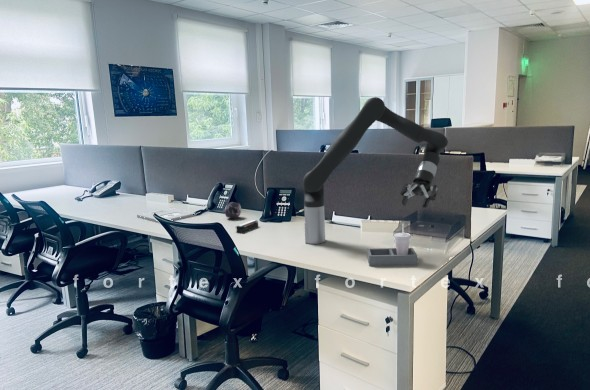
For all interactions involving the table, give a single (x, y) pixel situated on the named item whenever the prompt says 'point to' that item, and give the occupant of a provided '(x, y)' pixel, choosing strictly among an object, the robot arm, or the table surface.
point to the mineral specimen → (232, 210)
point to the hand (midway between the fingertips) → (413, 206)
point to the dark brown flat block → (247, 226)
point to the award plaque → (167, 214)
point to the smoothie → (402, 242)
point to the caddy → (390, 257)
